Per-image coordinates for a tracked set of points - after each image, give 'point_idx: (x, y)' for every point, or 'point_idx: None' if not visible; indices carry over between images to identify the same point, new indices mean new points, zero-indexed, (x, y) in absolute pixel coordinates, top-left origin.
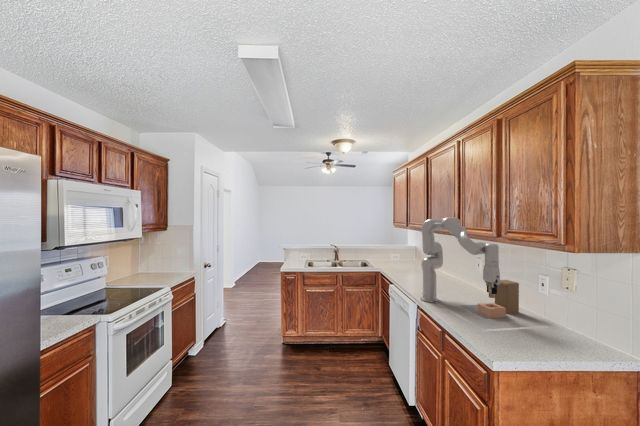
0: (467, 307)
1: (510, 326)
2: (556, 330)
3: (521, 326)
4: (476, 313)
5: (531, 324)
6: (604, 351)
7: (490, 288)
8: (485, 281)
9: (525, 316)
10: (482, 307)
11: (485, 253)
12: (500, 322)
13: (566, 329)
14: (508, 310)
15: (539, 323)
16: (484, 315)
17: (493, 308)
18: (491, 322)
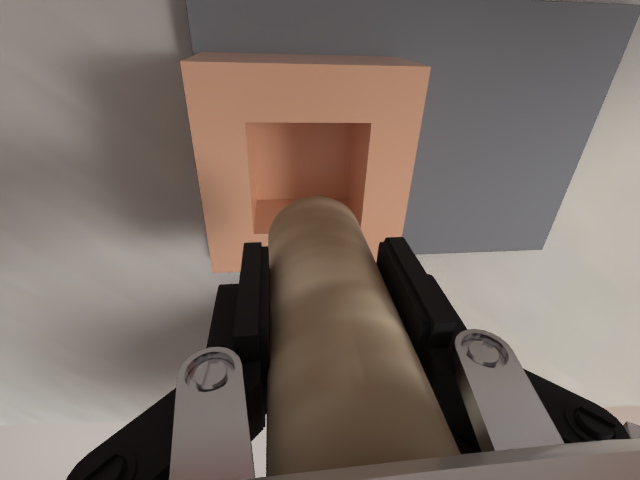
0: (551, 51)
1: (22, 130)
2: (8, 368)
3: (44, 221)
4: (361, 8)
5: (107, 308)
6: None
7: (307, 307)
8: (613, 430)
9: None
10: (324, 61)
11: None
12: (130, 112)
13: (43, 414)
14: None
15: (135, 357)
16: (282, 54)
17: (201, 134)
18: (120, 11)
